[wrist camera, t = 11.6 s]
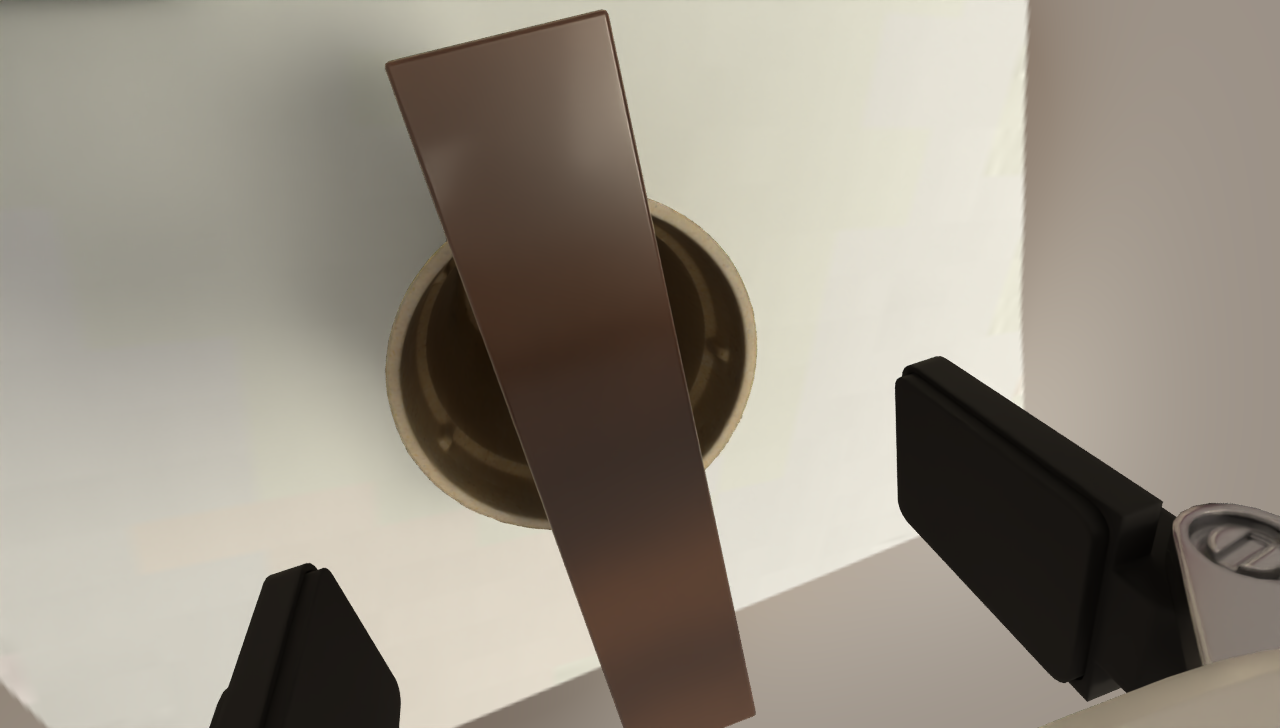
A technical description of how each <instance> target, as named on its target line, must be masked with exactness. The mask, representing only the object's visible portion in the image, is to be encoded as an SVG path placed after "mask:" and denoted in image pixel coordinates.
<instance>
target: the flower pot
mask: <svg viewBox="0 0 1280 728" xmlns="http://www.w3.org/2000/svg"><path fill="white" fill-rule="evenodd" d="M647 199H648V203H649V208H650V213H651V218H652V222H653V227H654V232H655V237H656V241H657V246H658V251H659V256H660V260H661V265H662V270H663V275H664V279H665V284H666V289H667V294H668V298H669V303H670V308H671V313H672V317H673V322H674V327H675V331H676V336H677V341H678V346H679V350H680V355H681V360H682V365H683V369H684V374H685V379H686V384H687V388H688V393H689V398H690V403H691V407H692V412H693V417H694V422H695V426H696V431H697V436H698V441H699V445H700V450H701V455H702V459H703V464H704V469H706V468H707V467H708V466H709V465H710V464H711V463H712V462H713V461H714V459H715V458H716V457H717V456H718V455H719V454H720V452H721V451H722V450H723V449H724V447H725V445H726V443H728V441H729V439H730V437H731V435H732V434H733V432H734V430H735V429H736V427H737V425H738V423H739V422H740V419H741V418H742V414H743V411H744V409H745V407H746V404H747V400H748V398H749V395H750V391H751V387H752V384H753V380H754V374H755V368H756V357H757V337H756V333H757V332H756V326H755V320H754V312H753V308H752V305H751V303H750V299H749V296H748V293H747V291H746V288H745V286H744V283H743V281H742V279H741V277H740V275H739V273H738V271H737V269H736V267H735V266H734V264H733V263H732V261H731V260H730V258H729V256H728V255H727V254H726V253H725V252H724V250H723V249H722V248H721V247H720V246H719V245H718V243H717V242H716V241H715V240H714V239H713V238H712V237H711V236H710V235H709V234H707V233H706V232H705V231H704V230H703V229H702V228H701V227H700V226H698V225H697V224H695V223H694V222H693V221H691V220H690V219H688V218H687V217H686V216H684V215H682V214H680V213H678V212H677V211H675V210H673V209H671V208H669V207H667V206H665V205H663V204H661V203H659V202H656V201H654V200H651V199H649V198H647ZM385 372H386V388H387V396H388V400H389V404H390V408H391V412H392V415H393V418H394V422H395V425H396V428H397V430H398V432H399V435H400V438H401V440H402V442H403V444H404V445H405V447H406V450H407V452H408V453H409V455H410V456H411V457H412V459H413V460H414V461H415V463H416V464H417V465H418V466H419V468H420V469H421V470H422V471H423V473H424V474H425V475H427V477H428V478H429V480H431V481H432V482H433V483H434V484H435V485H436V486H437V487H438V488H440V489H441V490H442V491H443V492H444V493H446V494H447V495H449V496H450V497H452V498H453V499H455V500H456V501H458V502H459V503H460V504H462V505H463V506H465V507H466V508H468V509H471V510H473V511H475V512H477V513H479V514H483V515H485V516H487V517H491V518H494V519H496V520H498V521H500V522H503V523H508V524H513V525H517V526H522V527H527V528H535V529H548V530H552V529H551V526H550V523H549V521H548V518H547V515H546V512H545V510H544V507H543V504H542V501H541V499H540V496H539V493H538V490H537V488H536V485H535V482H534V479H533V476H532V474H531V471H530V468H529V465H528V463H527V460H526V457H525V454H524V452H523V449H522V446H521V443H520V441H519V438H518V435H517V432H516V429H515V427H514V424H513V421H512V418H511V416H510V413H509V410H508V407H507V405H506V402H505V399H504V396H503V394H502V391H501V388H500V385H499V382H498V380H497V377H496V374H495V371H494V369H493V366H492V363H491V360H490V358H489V355H488V352H487V349H486V347H485V344H484V341H483V338H482V335H481V333H480V330H479V327H478V324H477V322H476V319H475V316H474V313H473V311H472V308H471V305H470V302H469V300H468V297H467V294H466V291H465V288H464V286H463V283H462V280H461V277H460V275H459V272H458V269H457V266H456V264H455V261H454V258H453V255H452V253H451V250H450V247H449V244H448V241H446V242H445V243H444V244H443V245H442V246H441V247H440V248H439V249H438V250H437V251H436V252H435V253H434V254H433V255H432V256H431V257H430V259H429V260H428V261H427V262H426V264H425V265H424V266H423V268H422V269H421V270H420V272H419V273H418V274H417V276H416V277H415V279H414V280H413V282H412V283H411V285H410V286H409V288H408V290H407V292H406V294H405V296H404V298H403V300H402V302H401V304H400V306H399V309H398V312H397V314H396V317H395V320H394V323H393V326H392V329H391V333H390V337H389V342H388V350H387V356H386V368H385Z"/></svg>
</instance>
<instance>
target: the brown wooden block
mask: <svg viewBox="0 0 1280 728" xmlns="http://www.w3.org/2000/svg"><path fill="white" fill-rule="evenodd" d="M385 70H386V73H387V76H388V78H389V81H390V84H391V87H392V89H393V92H394V95H395V98H396V100H397V103H398V106H399V109H400V112H401V114H402V117H403V120H404V123H405V125H406V128H407V131H408V134H409V136H410V139H411V142H412V145H413V147H414V150H415V153H416V156H417V159H418V161H419V164H420V167H421V170H422V172H423V175H424V178H425V181H426V183H427V186H428V189H429V192H430V194H431V197H432V200H433V203H434V206H435V208H436V211H437V214H438V217H439V219H440V222H441V225H442V228H443V230H444V233H445V236H446V239H447V241H448V244H449V247H450V250H451V253H452V255H453V258H454V261H455V264H456V266H457V269H458V272H459V275H460V277H461V280H462V283H463V286H464V288H465V291H466V294H467V297H468V300H469V302H470V305H471V308H472V311H473V313H474V316H475V319H476V322H477V324H478V327H479V330H480V333H481V335H482V338H483V341H484V344H485V347H486V349H487V352H488V355H489V358H490V360H491V363H492V366H493V369H494V371H495V374H496V377H497V380H498V382H499V385H500V388H501V391H502V394H503V396H504V399H505V402H506V405H507V407H508V410H509V413H510V416H511V418H512V421H513V424H514V427H515V429H516V432H517V435H518V438H519V441H520V443H521V446H522V449H523V452H524V454H525V457H526V460H527V463H528V465H529V468H530V471H531V474H532V476H533V479H534V482H535V485H536V488H537V490H538V493H539V496H540V499H541V501H542V504H543V507H544V510H545V512H546V515H547V518H548V521H549V523H550V526H551V529H552V532H553V535H554V537H555V540H556V543H557V546H558V548H559V551H560V554H561V557H562V559H563V562H564V565H565V568H566V570H567V573H568V576H569V579H570V581H571V584H572V587H573V590H574V593H575V595H576V598H577V601H578V604H579V606H580V609H581V612H582V615H583V617H584V620H585V623H586V626H587V628H588V631H589V634H590V637H591V640H592V642H593V645H594V648H595V651H596V653H597V656H598V659H599V662H600V664H601V667H602V670H603V673H604V675H605V678H606V681H607V684H608V686H609V689H610V692H611V695H612V698H613V700H614V703H615V706H616V709H617V711H618V714H619V717H620V720H621V722H622V725H623V728H724V727H727V726H729V725H732V724H734V723H737V722H740V721H742V720H745V719H747V718H750V717H753V716H754V715H755V714H756V711H755V706H754V701H753V697H752V692H751V687H750V682H749V678H748V673H747V668H746V663H745V659H744V654H743V649H742V644H741V640H740V635H739V630H738V626H737V621H736V616H735V611H734V606H733V602H732V597H731V592H730V587H729V583H728V578H727V573H726V569H725V564H724V559H723V554H722V550H721V545H720V540H719V535H718V531H717V526H716V521H715V516H714V512H713V507H712V502H711V497H710V493H709V488H708V483H707V478H706V474H705V469H704V464H703V459H702V455H701V450H700V445H699V441H698V436H697V431H696V426H695V422H694V417H693V412H692V407H691V403H690V398H689V393H688V388H687V384H686V379H685V374H684V369H683V365H682V360H681V355H680V350H679V346H678V341H677V336H676V331H675V327H674V322H673V317H672V313H671V308H670V303H669V298H668V294H667V289H666V284H665V279H664V275H663V270H662V265H661V260H660V256H659V251H658V246H657V241H656V237H655V232H654V227H653V222H652V218H651V213H650V208H649V203H648V199H647V194H646V189H645V185H644V180H643V175H642V170H641V166H640V161H639V156H638V151H637V147H636V142H635V137H634V132H633V128H632V123H631V118H630V113H629V109H628V104H627V99H626V94H625V90H624V85H623V80H622V75H621V71H620V66H619V61H618V57H617V52H616V47H615V42H614V38H613V33H612V28H611V23H610V19H609V14H608V13H607V11H606V10H602V9H601V10H597V11H593V12H589V13H585V14H581V15H577V16H572V17H568V18H564V19H560V20H556V21H552V22H548V23H544V24H539V25H535V26H531V27H527V28H523V29H519V30H515V31H511V32H507V33H502V34H498V35H494V36H490V37H486V38H482V39H478V40H474V41H469V42H465V43H461V44H457V45H453V46H449V47H445V48H441V49H437V50H432V51H428V52H424V53H420V54H416V55H412V56H408V57H404V58H399V59H395V60H391V61H388V62H387V63H386V64H385Z"/></svg>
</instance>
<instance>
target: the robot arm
mask: <svg viewBox="0 0 1280 728" xmlns="http://www.w3.org/2000/svg"><path fill="white" fill-rule="evenodd" d="M895 405H896V445H897V486H898V504H899V507H900V510H901V512H902V515H903V516H904V518H905V519H906V521H907V522H908V523H909V524H910V525H911V526H912V527H913V528H914V530H915V531H916V532H917V533H918V534H919V535H920V536H921V537H922V538H923V539H924V540H925V541H926V542H927V543H928V545H929V546H930V547H931V548H932V549H933V550H934V551H935V552H936V553H937V554H938V555H939V556H940V557H941V558H942V560H943V561H944V562H946V564H947V565H948V566H949V567H950V568H951V569H952V570H953V571H954V572H955V573H956V575H957V576H959V578H960V579H961V580H962V581H963V582H964V583H965V584H966V585H967V586H968V587H969V588H970V589H971V591H972V592H973V593H974V594H975V595H976V596H977V597H978V598H979V599H980V600H981V601H982V602H983V604H984V605H985V606H986V607H987V608H988V609H989V610H990V611H991V612H992V613H993V614H994V615H995V616H996V617H997V618H998V619H999V621H1000V622H1001V623H1002V624H1003V625H1004V626H1005V627H1006V628H1007V629H1008V630H1009V631H1010V632H1011V634H1013V636H1014V637H1015V638H1016V639H1017V640H1018V641H1019V642H1020V643H1021V644H1022V645H1023V646H1024V647H1025V648H1026V650H1027V651H1028V652H1029V653H1030V654H1031V655H1032V656H1033V657H1034V658H1035V659H1036V660H1037V661H1038V662H1039V664H1040V665H1042V667H1043V668H1044V669H1045V670H1046V671H1047V672H1048V673H1049V674H1050V675H1051V676H1052V677H1053V678H1054V679H1056V680H1058V681H1059V682H1062V683H1066V682H1069V683H1070V684H1071V685H1072V686H1073V687H1074V688H1075V689H1076V690H1077V692H1079V694H1080V695H1081V696H1083V698H1084V699H1085V700H1086V701H1087V702H1088V701H1090V700H1092V699H1095V698H1097V697H1100V696H1102V695H1105V694H1107V693H1109V692H1112V691H1114V690H1117V689H1119V688H1122V689H1123V690H1124V691H1125V692H1126V694H1123V695H1120V696H1118V697H1115V698H1113V699H1110V700H1107V701H1105V702H1102V703H1100V704H1097V705H1094V706H1092V707H1089V708H1087V709H1084V710H1081V711H1079V712H1076V713H1074V714H1071V715H1068V716H1066V717H1063V718H1061V719H1058V720H1056V721H1053V722H1051V723H1048V724H1046V725H1044V726H1041V727H1039V728H1280V516H1278V515H1275V514H1272V513H1269V512H1266V511H1263V510H1260V509H1257V508H1253V507H1248V506H1243V505H1237V504H1228V503H1225V504H1224V503H1209V504H1203V505H1196V506H1193V507H1191V508H1189V509H1187V510H1185V511H1183V512H1181V513H1180V514H1179V515H1178V516H1177V517H1176V516H1174V515H1173V514H1171V513H1170V512H1168V511H1167V510H1165V509H1164V508H1162V503H1163V502H1162V501H1161V500H1160V499H1158V498H1157V497H1155V496H1154V495H1152V494H1151V493H1149V492H1148V491H1146V490H1144V489H1143V488H1142V487H1140V486H1139V485H1137V484H1135V483H1134V482H1132V481H1131V480H1129V479H1128V478H1126V477H1125V476H1123V475H1122V474H1120V473H1119V472H1117V471H1116V470H1114V469H1113V468H1111V467H1110V466H1108V465H1107V464H1105V463H1104V462H1102V461H1101V460H1099V459H1098V458H1096V457H1095V456H1093V455H1091V454H1090V453H1088V452H1087V451H1085V450H1084V449H1082V448H1081V447H1079V446H1078V445H1076V444H1075V443H1073V442H1072V441H1070V440H1069V439H1067V438H1066V437H1064V436H1063V435H1061V434H1059V433H1058V432H1057V431H1055V430H1053V429H1052V428H1051V427H1049V426H1048V425H1046V424H1044V423H1043V422H1041V421H1040V420H1038V419H1037V418H1035V417H1034V416H1032V415H1031V414H1029V413H1028V412H1026V411H1025V410H1023V409H1022V408H1020V407H1019V406H1017V405H1016V404H1014V403H1013V402H1011V401H1010V400H1008V399H1007V398H1005V397H1004V396H1002V395H1000V394H999V393H997V392H996V391H994V390H993V389H991V388H990V387H988V386H987V385H985V384H984V383H982V382H981V381H979V380H978V379H976V378H975V377H973V376H972V375H970V374H969V373H967V372H966V371H964V370H963V369H961V368H960V367H958V366H956V365H955V364H953V363H952V362H950V361H949V360H947V359H946V358H944V357H941V356H936V357H933V358H930V359H927V360H924V361H921V362H918V363H915V364H912V365H909V366H907V367H905V368H904V370H903V372H902V377H900V378H898V379H897V380H896V383H895ZM400 707H401V699H400V691H399V687H398V684H397V681H396V679H395V677H394V676H393V674H392V672H391V671H390V669H389V667H388V666H387V664H386V662H385V661H384V659H383V657H382V656H381V654H380V652H379V651H378V649H377V647H376V646H375V644H374V643H373V641H372V639H371V638H370V636H369V634H368V633H367V631H366V629H365V628H364V626H363V624H362V623H361V621H360V619H359V618H358V616H357V614H356V613H355V611H354V609H353V608H352V606H351V604H350V603H349V601H348V599H347V598H346V596H345V594H344V593H343V591H342V589H341V588H340V586H339V585H338V583H337V581H336V580H335V578H334V576H333V575H332V573H331V572H330V571H329V570H328V569H327V568H322V569H319V570H317V568H316V567H315V566H314V565H312V564H311V563H306V564H303V565H300V566H297V567H294V568H291V569H288V570H284V571H281V572H278V573H275V574H272V575H270V576H268V577H267V578H266V580H265V581H264V583H263V586H262V589H261V592H260V595H259V598H258V601H257V604H256V607H255V610H254V613H253V616H252V619H251V622H250V625H249V628H248V631H247V633H246V636H245V639H244V642H243V645H242V648H241V651H240V654H239V657H238V660H237V663H236V666H235V669H234V672H233V675H232V678H231V681H230V684H229V687H228V688H227V689H226V690H225V691H224V692H223V694H222V696H221V698H220V700H219V702H218V704H217V707H216V710H215V713H214V715H213V718H212V721H211V724H210V727H209V728H399V721H400Z"/></svg>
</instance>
